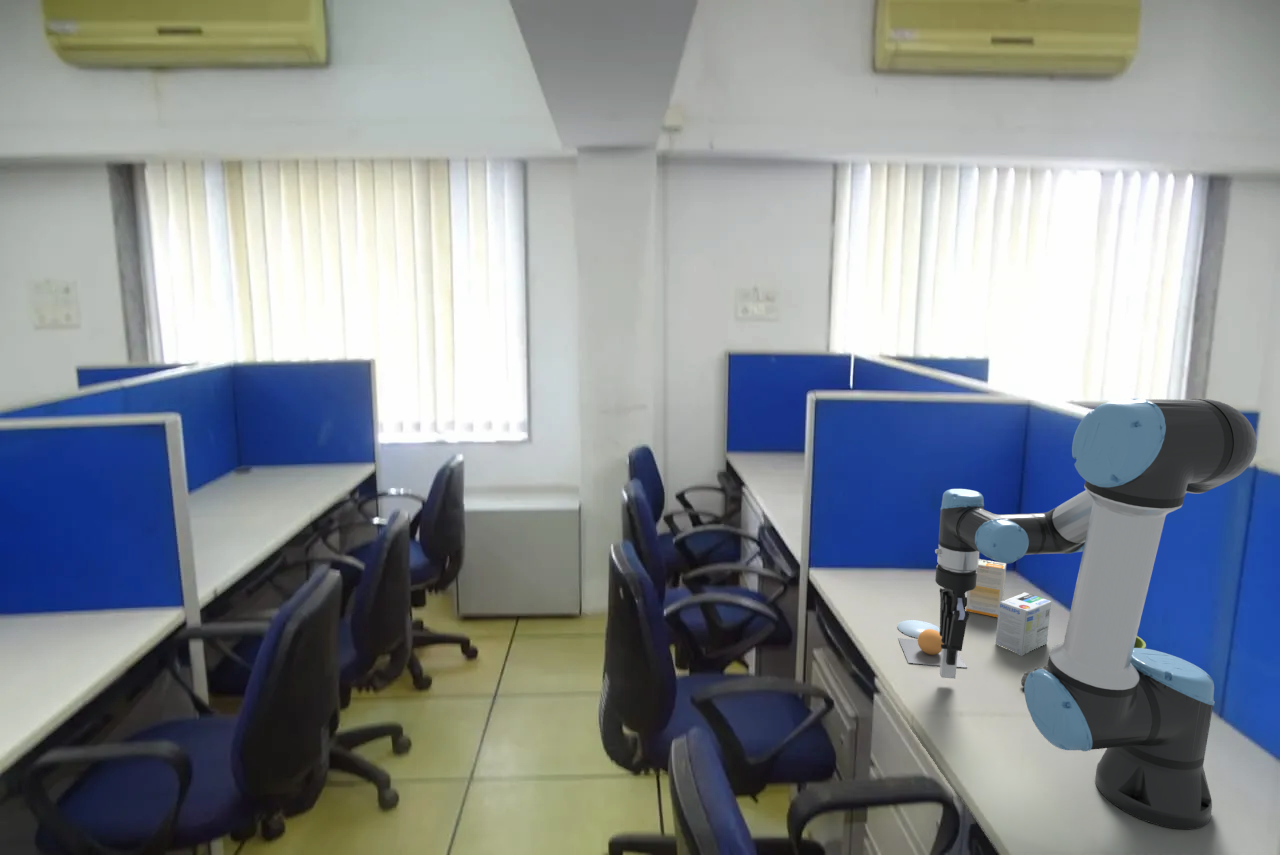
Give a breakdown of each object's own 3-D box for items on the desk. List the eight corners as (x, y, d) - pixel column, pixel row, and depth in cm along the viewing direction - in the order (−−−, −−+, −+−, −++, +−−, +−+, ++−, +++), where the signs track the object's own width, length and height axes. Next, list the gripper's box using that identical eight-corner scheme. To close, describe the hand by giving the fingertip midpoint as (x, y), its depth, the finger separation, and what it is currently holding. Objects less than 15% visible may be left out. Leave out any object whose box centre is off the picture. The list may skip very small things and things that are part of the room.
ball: (944, 661, 162) (948, 642, 159) (918, 659, 163) (922, 640, 160) (939, 643, 167) (943, 624, 164) (914, 640, 168) (917, 622, 165)
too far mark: (946, 640, 170) (946, 640, 170) (901, 637, 172) (901, 636, 172) (936, 622, 180) (936, 621, 180) (894, 619, 181) (894, 618, 181)
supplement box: (1002, 612, 186) (1007, 563, 184) (1000, 618, 182) (1005, 568, 180) (967, 604, 191) (972, 556, 189) (964, 611, 187) (969, 562, 185)
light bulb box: (1019, 633, 174) (1024, 590, 172) (1048, 645, 169) (1053, 600, 167) (993, 645, 168) (998, 600, 167) (1022, 656, 163) (1027, 611, 161)
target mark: (966, 668, 157) (966, 667, 157) (908, 663, 159) (908, 662, 159) (952, 643, 169) (952, 642, 169) (898, 639, 171) (898, 638, 171)
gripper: (929, 554, 153) (921, 659, 157) (945, 577, 140) (935, 690, 144) (967, 556, 152) (958, 662, 156) (986, 579, 139) (976, 694, 143)
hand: (947, 676), depth 150 cm, fingers closed
